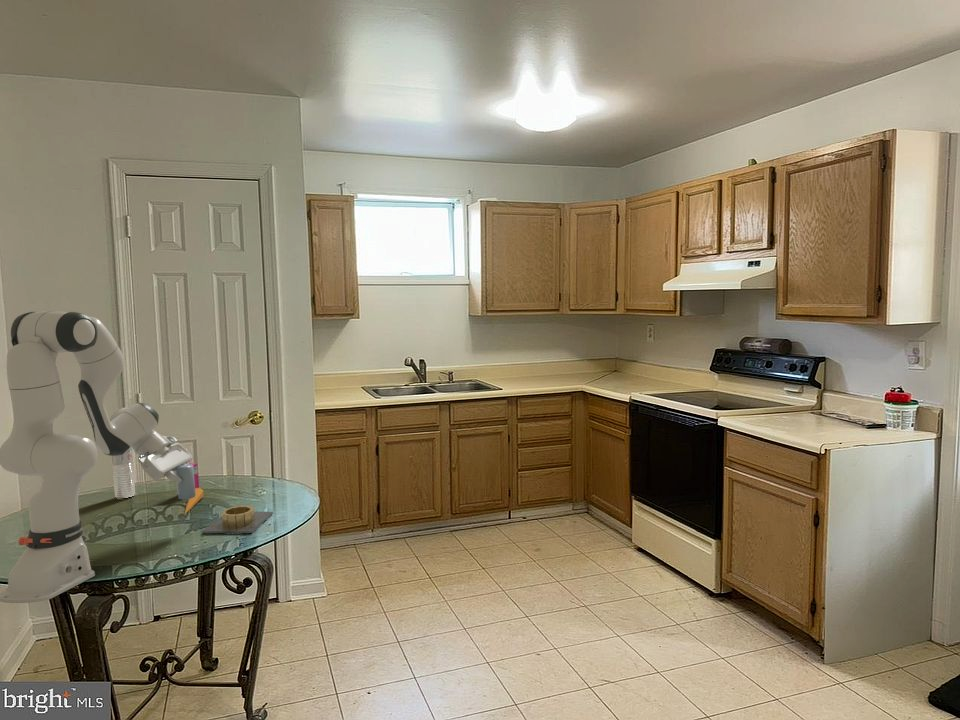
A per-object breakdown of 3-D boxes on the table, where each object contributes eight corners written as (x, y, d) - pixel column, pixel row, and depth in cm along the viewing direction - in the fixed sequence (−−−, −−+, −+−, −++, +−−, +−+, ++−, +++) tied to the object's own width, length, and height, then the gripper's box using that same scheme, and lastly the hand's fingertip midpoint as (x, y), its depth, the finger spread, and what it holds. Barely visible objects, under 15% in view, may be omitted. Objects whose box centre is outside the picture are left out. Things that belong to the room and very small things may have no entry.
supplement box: (176, 496, 248) (174, 466, 246) (187, 491, 253) (185, 462, 252) (189, 497, 246) (186, 467, 245) (200, 492, 252) (198, 463, 250)
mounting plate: (251, 533, 205) (251, 530, 205) (202, 534, 206) (201, 531, 206) (273, 514, 223) (272, 511, 223) (227, 514, 224) (227, 512, 224)
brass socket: (247, 526, 209) (246, 515, 209) (217, 526, 210) (216, 515, 210) (259, 515, 219) (258, 505, 219) (230, 516, 220) (230, 505, 219)
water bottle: (126, 500, 244) (121, 434, 241) (110, 499, 245) (105, 433, 243) (139, 494, 251) (134, 430, 248) (124, 494, 252) (118, 430, 249)
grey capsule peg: (190, 499, 208) (188, 468, 207) (175, 499, 208) (173, 468, 207) (198, 494, 213) (196, 464, 212) (183, 494, 213) (181, 464, 212)
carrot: (195, 499, 245) (189, 489, 244) (207, 494, 246) (201, 484, 245) (181, 522, 226) (174, 512, 225) (193, 517, 226) (187, 506, 225)
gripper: (141, 450, 199) (175, 481, 199) (176, 435, 219) (207, 463, 220) (128, 464, 200) (162, 495, 200) (164, 448, 220) (195, 477, 220)
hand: (186, 479), depth 210 cm, fingers closed on grey capsule peg, 5 cm apart
